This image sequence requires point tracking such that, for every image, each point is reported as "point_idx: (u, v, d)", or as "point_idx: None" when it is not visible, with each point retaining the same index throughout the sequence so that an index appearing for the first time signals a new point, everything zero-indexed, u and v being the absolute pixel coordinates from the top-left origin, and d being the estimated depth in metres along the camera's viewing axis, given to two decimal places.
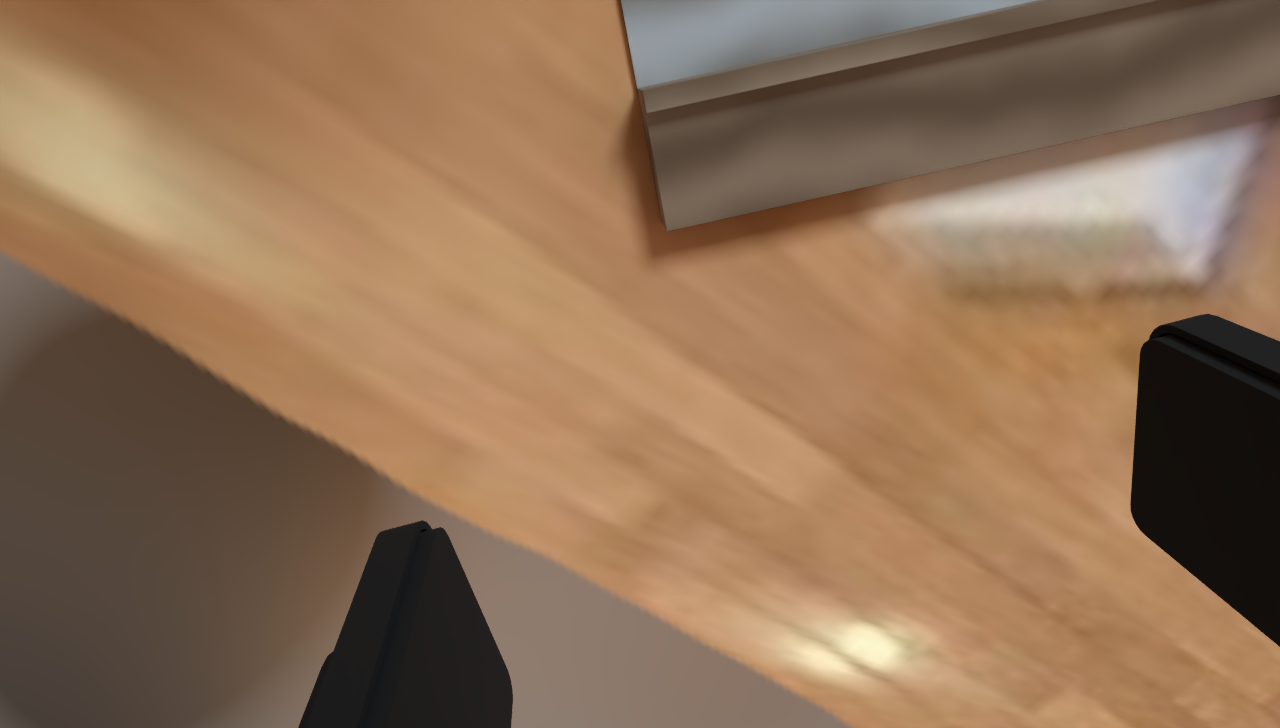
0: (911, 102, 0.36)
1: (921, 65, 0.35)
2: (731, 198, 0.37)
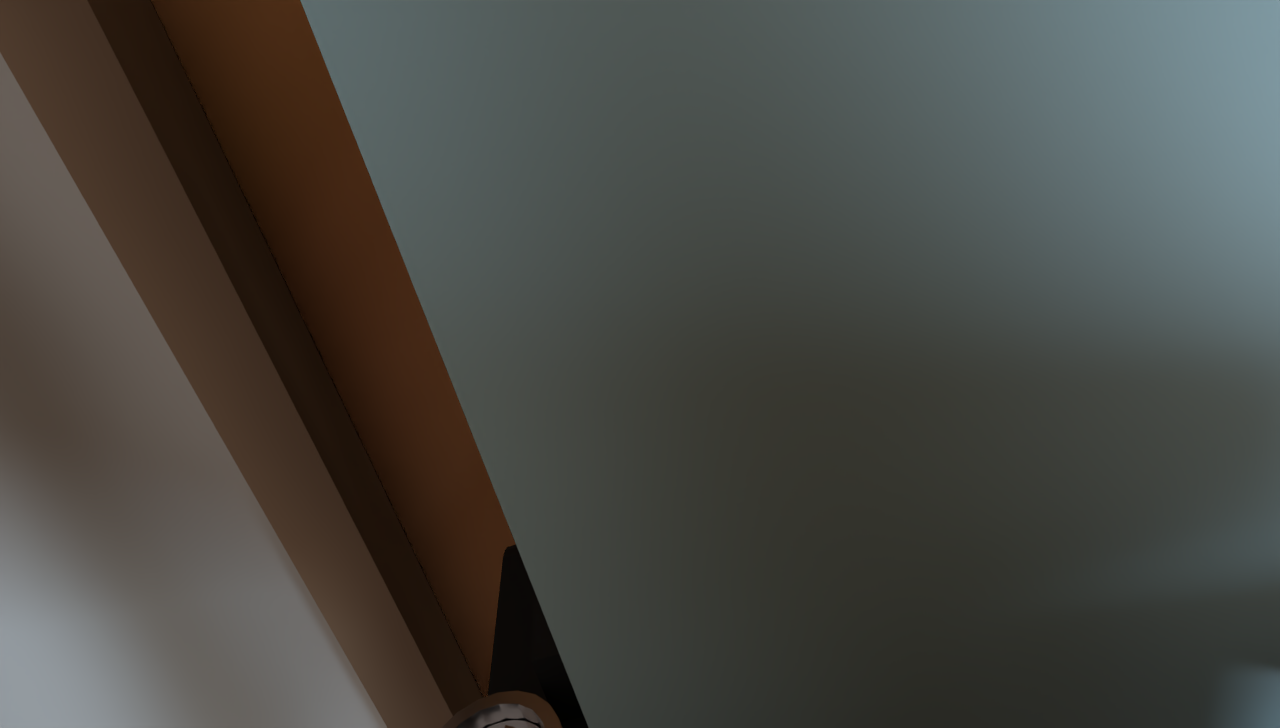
0: None
1: None
2: None
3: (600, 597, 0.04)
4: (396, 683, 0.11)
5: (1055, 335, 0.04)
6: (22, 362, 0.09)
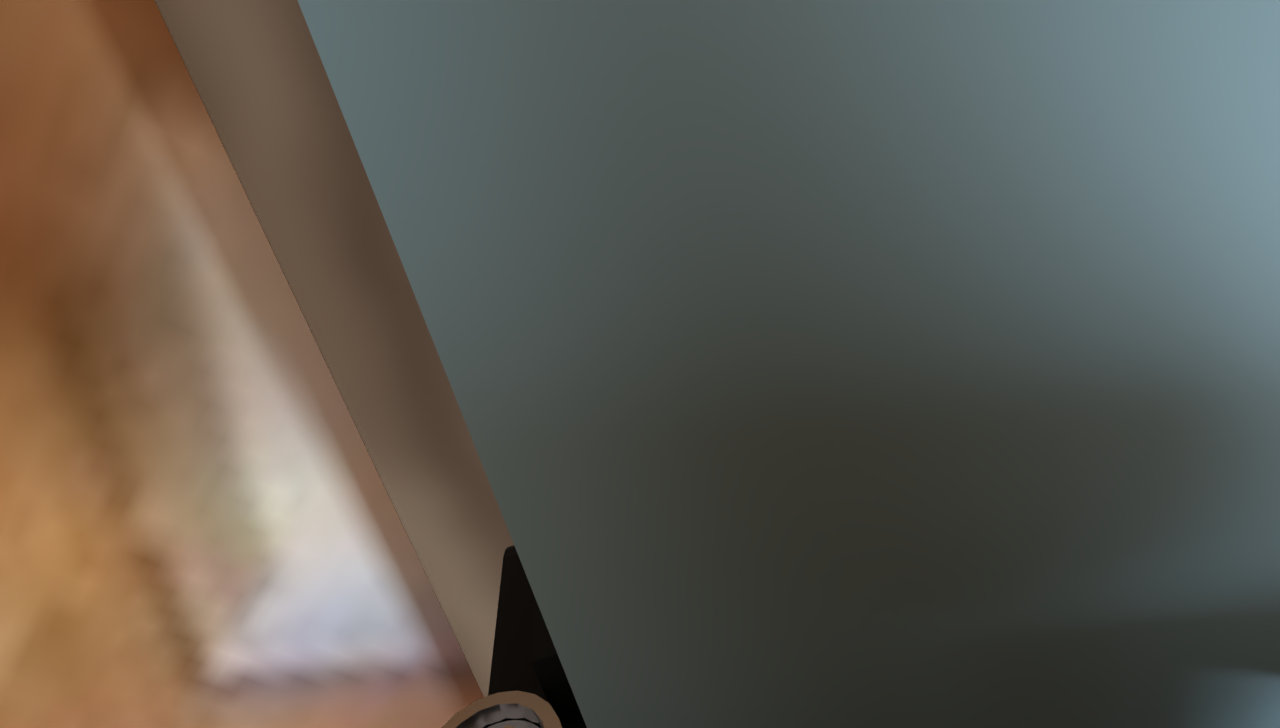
0: None
1: None
2: None
3: (602, 603, 0.04)
4: None
5: (1058, 341, 0.04)
6: None
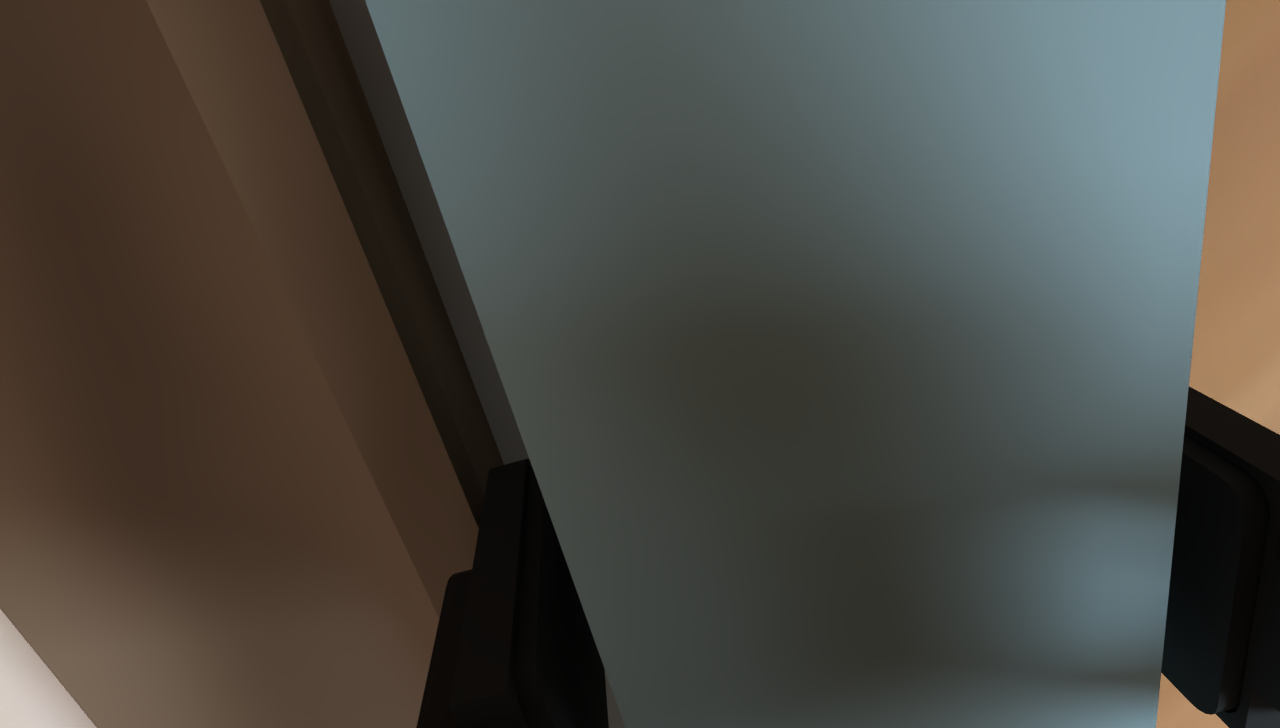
0: (67, 223, 0.08)
1: (228, 234, 0.08)
2: None
3: (588, 476, 0.05)
4: None
5: (938, 264, 0.05)
6: None
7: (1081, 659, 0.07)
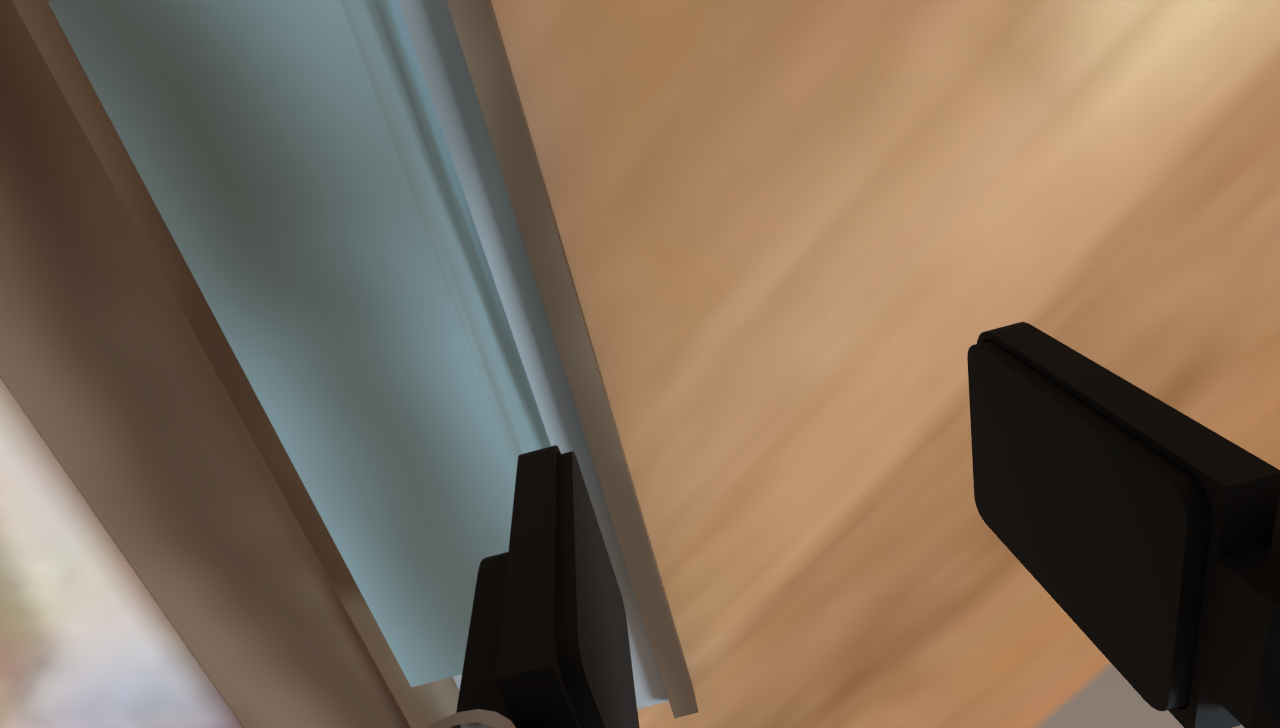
0: (45, 205, 0.18)
1: (118, 210, 0.19)
2: None
3: (218, 289, 0.15)
4: (508, 139, 0.20)
5: (323, 214, 0.15)
6: None
7: (443, 376, 0.17)
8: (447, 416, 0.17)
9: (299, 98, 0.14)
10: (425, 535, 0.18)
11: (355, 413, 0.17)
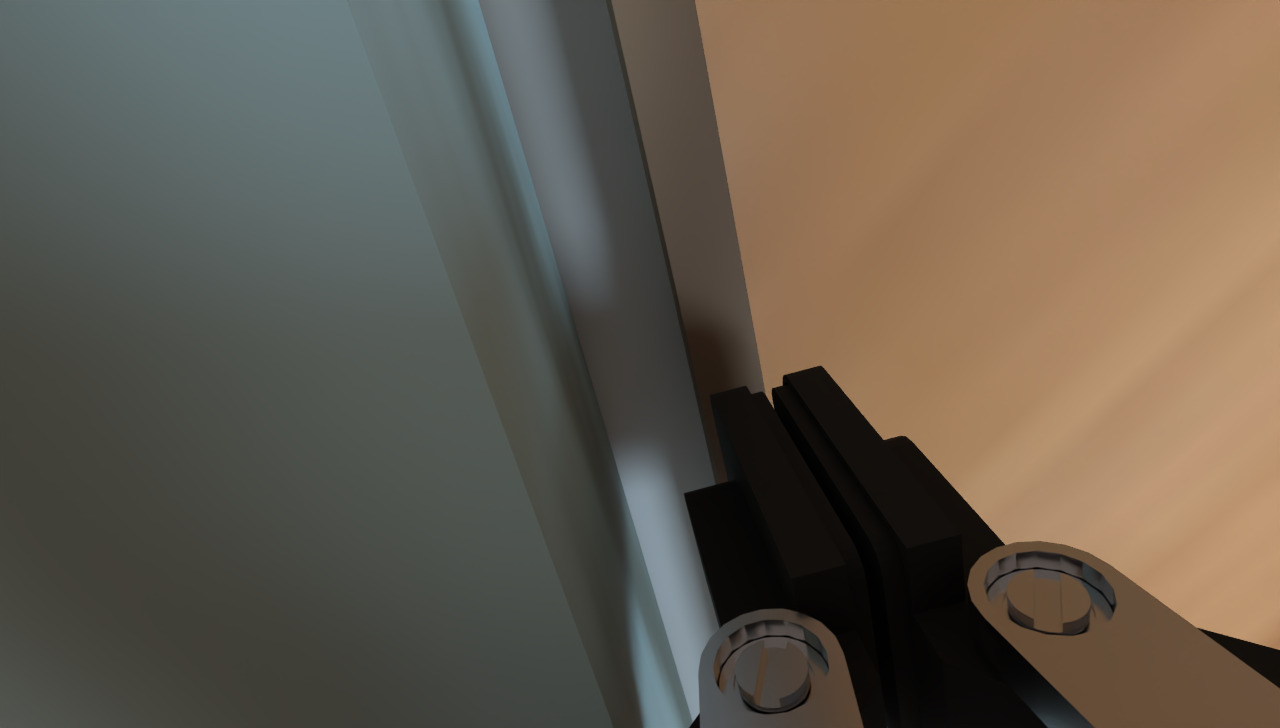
0: None
1: None
2: None
3: None
4: (683, 163, 0.10)
5: (208, 433, 0.05)
6: None
7: None
8: None
9: (98, 71, 0.04)
10: None
11: None
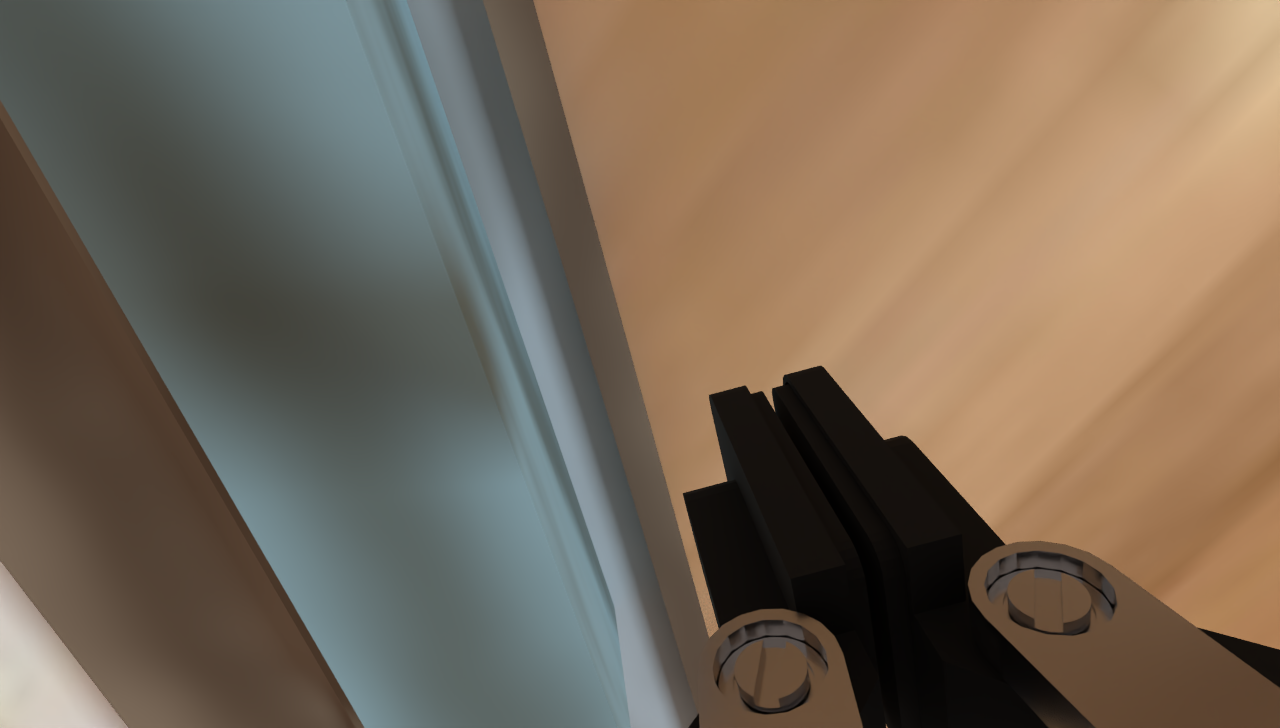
0: None
1: (77, 265, 0.15)
2: None
3: (186, 378, 0.12)
4: (555, 172, 0.16)
5: (323, 281, 0.11)
6: None
7: (477, 477, 0.13)
8: (481, 525, 0.14)
9: (292, 132, 0.11)
10: (451, 668, 0.15)
11: (365, 526, 0.13)
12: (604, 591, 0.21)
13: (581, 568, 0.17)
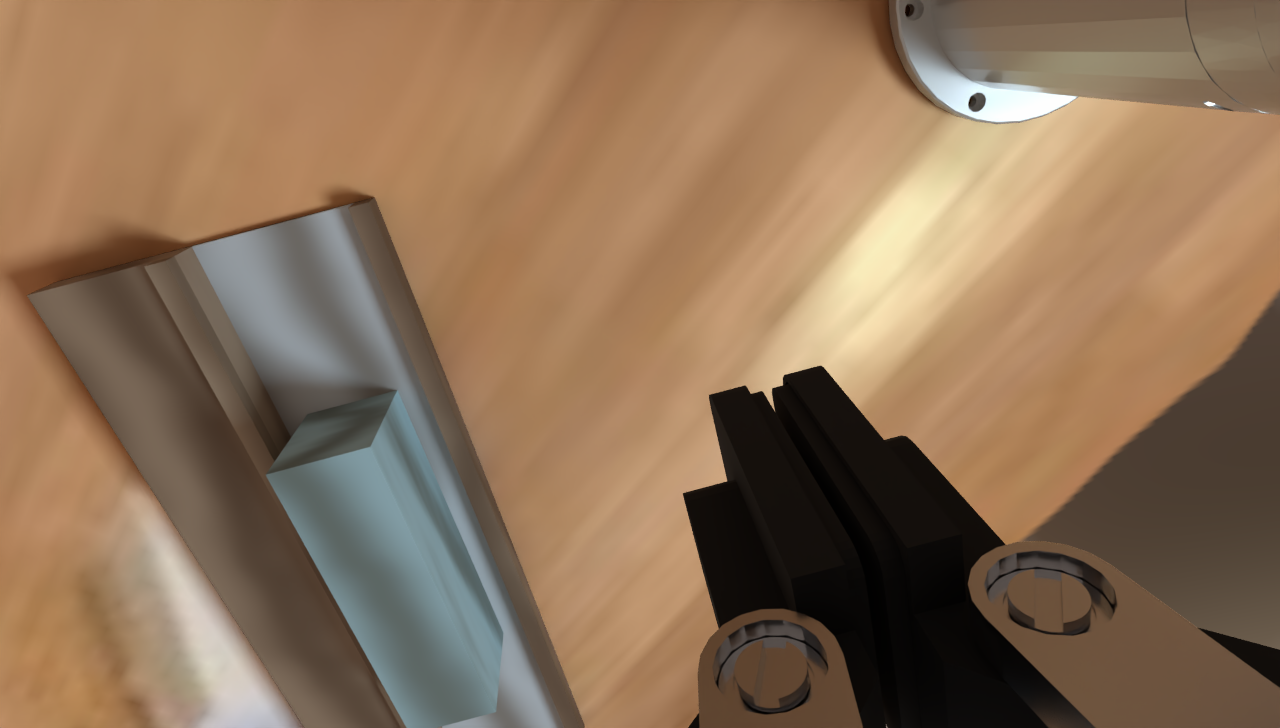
0: (239, 505, 0.38)
1: (273, 505, 0.38)
2: (89, 358, 0.34)
3: (325, 568, 0.35)
4: (462, 462, 0.39)
5: (371, 539, 0.35)
6: (376, 377, 0.38)
7: (424, 597, 0.37)
8: (426, 613, 0.37)
9: (363, 499, 0.34)
10: (416, 664, 0.38)
11: (384, 613, 0.37)
12: (495, 627, 0.44)
13: (475, 622, 0.41)
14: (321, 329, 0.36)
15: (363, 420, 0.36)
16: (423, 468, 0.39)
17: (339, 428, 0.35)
